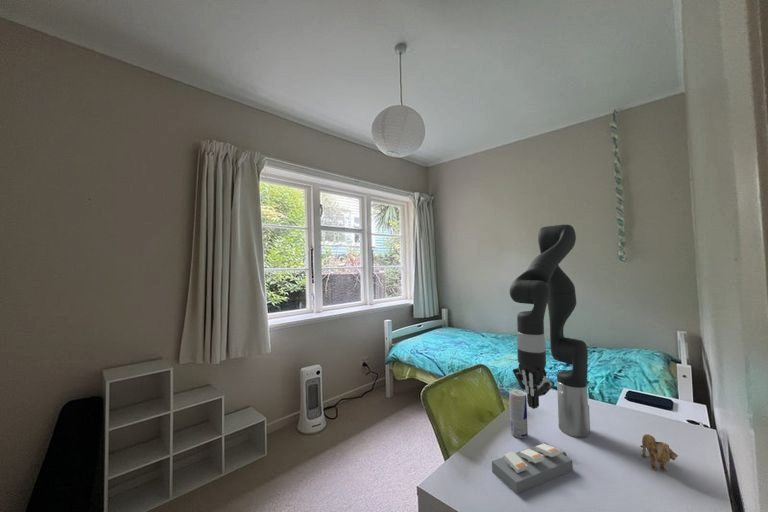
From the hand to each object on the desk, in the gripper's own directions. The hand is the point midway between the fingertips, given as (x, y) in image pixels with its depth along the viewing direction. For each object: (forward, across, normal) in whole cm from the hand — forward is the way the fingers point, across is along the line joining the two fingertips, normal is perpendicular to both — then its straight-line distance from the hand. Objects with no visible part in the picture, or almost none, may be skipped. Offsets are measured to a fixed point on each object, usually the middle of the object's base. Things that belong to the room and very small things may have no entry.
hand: (533, 407), depth 84 cm
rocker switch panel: (+19, +1, -2) cm, 19 cm away
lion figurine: (+19, -12, -36) cm, 43 cm away
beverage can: (+19, +16, -11) cm, 27 cm away
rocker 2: (+16, +1, -6) cm, 17 cm away
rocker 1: (+16, +1, +6) cm, 17 cm away
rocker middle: (+16, +1, 0) cm, 16 cm away
